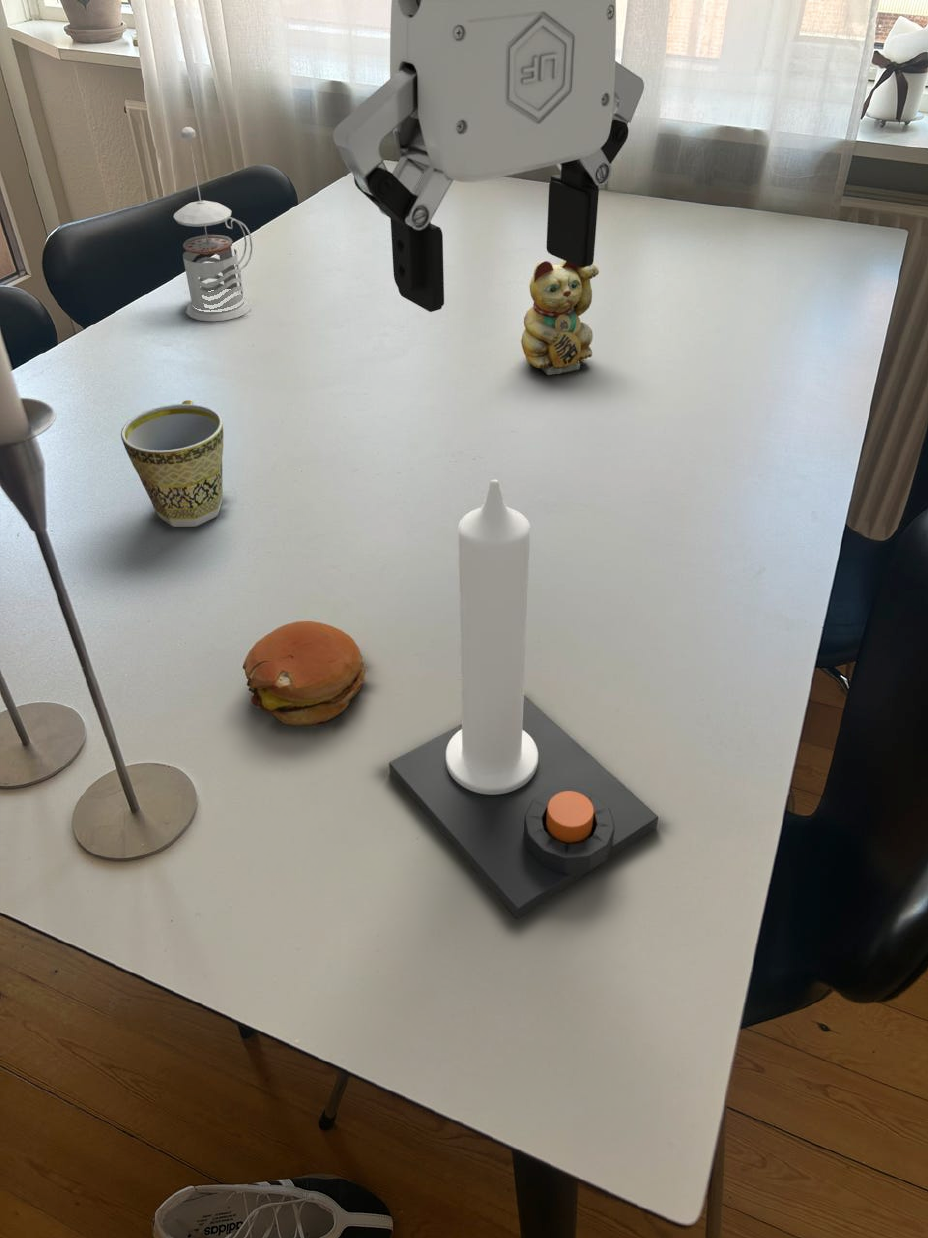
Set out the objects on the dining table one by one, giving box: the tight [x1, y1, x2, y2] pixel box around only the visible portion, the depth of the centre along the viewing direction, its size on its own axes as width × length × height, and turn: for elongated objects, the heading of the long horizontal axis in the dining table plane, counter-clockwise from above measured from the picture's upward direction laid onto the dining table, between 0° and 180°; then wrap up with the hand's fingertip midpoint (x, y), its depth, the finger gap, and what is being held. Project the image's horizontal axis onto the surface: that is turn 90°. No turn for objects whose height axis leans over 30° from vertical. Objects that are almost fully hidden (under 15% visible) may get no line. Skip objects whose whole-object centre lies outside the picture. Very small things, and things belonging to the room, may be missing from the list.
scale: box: [388, 695, 659, 920], centre depth 71 cm, size 16×13×3 cm
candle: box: [446, 478, 538, 795], centre depth 66 cm, size 7×7×25 cm
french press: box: [173, 126, 253, 322], centre depth 138 cm, size 10×12×25 cm
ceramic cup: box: [120, 399, 224, 528], centre depth 101 cm, size 13×10×10 cm
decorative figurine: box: [520, 259, 600, 376], centre depth 125 cm, size 10×8×15 cm
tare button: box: [546, 791, 594, 843], centre depth 67 cm, size 3×3×2 cm
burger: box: [242, 620, 366, 727], centre depth 81 cm, size 10×9×5 cm
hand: (498, 280), depth 50 cm, fingers open, 9 cm apart
